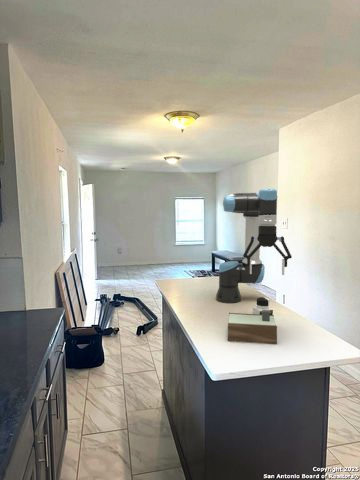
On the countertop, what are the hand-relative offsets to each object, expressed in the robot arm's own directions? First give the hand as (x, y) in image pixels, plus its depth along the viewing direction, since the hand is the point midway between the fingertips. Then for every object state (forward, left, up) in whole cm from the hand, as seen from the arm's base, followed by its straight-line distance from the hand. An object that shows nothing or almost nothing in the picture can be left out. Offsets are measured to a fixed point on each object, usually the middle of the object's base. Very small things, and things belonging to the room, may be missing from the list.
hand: (266, 274), depth 140 cm
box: (+3, -6, -27) cm, 28 cm away
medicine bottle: (-16, 0, -28) cm, 32 cm away
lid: (+3, -6, -21) cm, 22 cm away
